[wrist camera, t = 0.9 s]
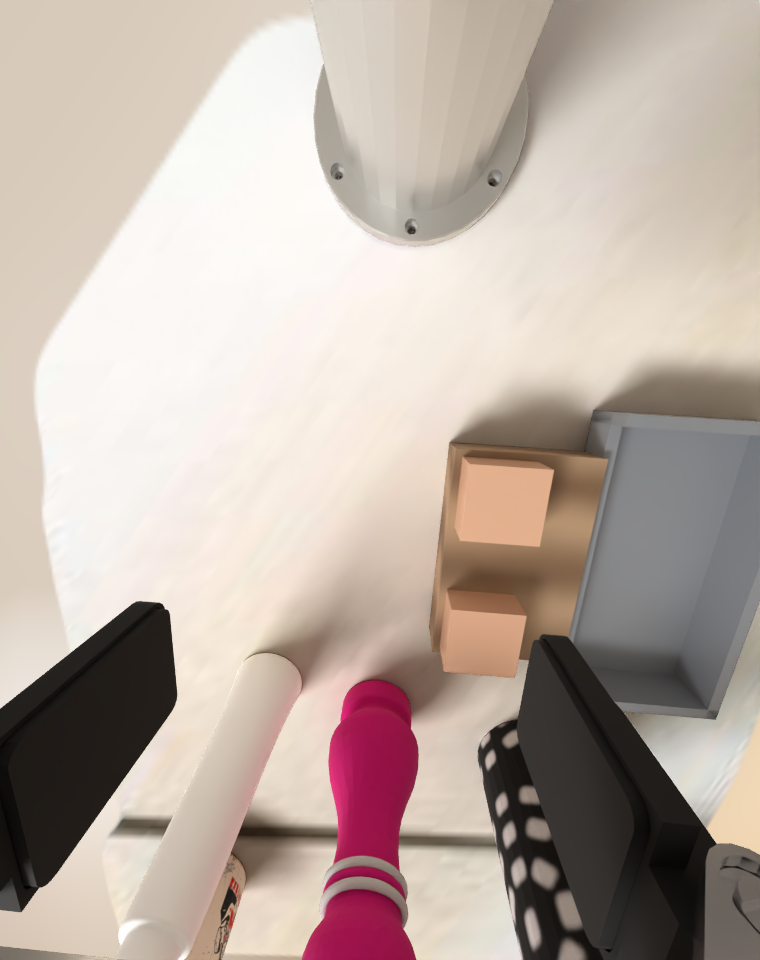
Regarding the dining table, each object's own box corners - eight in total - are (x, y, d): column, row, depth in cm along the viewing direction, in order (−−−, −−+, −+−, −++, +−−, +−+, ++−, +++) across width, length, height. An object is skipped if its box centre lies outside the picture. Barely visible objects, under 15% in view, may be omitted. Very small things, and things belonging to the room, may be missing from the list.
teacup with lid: (241, 905, 41) (182, 1103, 29) (164, 886, 40) (74, 1077, 29) (261, 834, 38) (202, 1024, 26) (177, 813, 37) (83, 995, 26)
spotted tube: (585, 742, 33) (860, 1255, 13) (534, 800, 35) (709, 1319, 15) (508, 705, 32) (677, 1185, 13) (461, 766, 34) (545, 1261, 15)
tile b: (446, 589, 26) (451, 609, 24) (514, 594, 26) (526, 615, 24) (439, 646, 27) (443, 671, 25) (504, 652, 27) (515, 677, 25)
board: (449, 442, 26) (456, 448, 24) (584, 451, 26) (608, 459, 23) (429, 626, 30) (432, 651, 28) (546, 636, 30) (562, 662, 27)
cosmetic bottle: (258, 714, 34) (19, 1271, 12) (225, 665, 32) (-103, 1189, 11) (313, 694, 33) (159, 1256, 11) (282, 642, 32) (43, 1166, 10)
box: (593, 410, 25) (628, 413, 22) (758, 420, 25) (823, 426, 21) (540, 666, 31) (561, 705, 27) (675, 677, 31) (715, 719, 27)
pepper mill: (345, 667, 32) (264, 1095, 13) (423, 683, 32) (464, 1134, 13) (332, 729, 34) (244, 1186, 14) (406, 744, 34) (418, 1221, 14)
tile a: (462, 456, 24) (470, 464, 21) (537, 461, 24) (554, 469, 21) (454, 526, 25) (460, 540, 23) (525, 531, 25) (539, 547, 22)
